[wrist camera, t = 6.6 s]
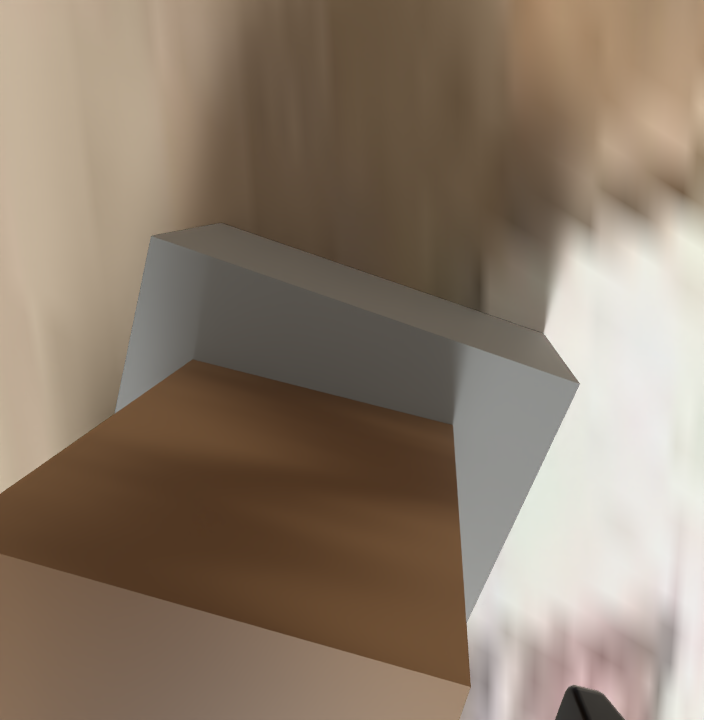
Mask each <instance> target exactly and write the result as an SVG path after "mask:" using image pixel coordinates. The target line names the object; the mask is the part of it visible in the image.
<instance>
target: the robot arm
mask: <svg viewBox="0 0 704 720" xmlns="http://www.w3.org/2000/svg"><path fill="white" fill-rule="evenodd" d="M555 720H625V719H624V718H623V717H622V716H621V714H620V713H619V712H618V711H617V710H616V708H615V707H614V706H613V705H612V704H611V702H610V701H609V700H608V699H607V698H606V696H605V695H604V694H602V693H601V692H599V691H597V690H593V689H589V688H585V687H581V686H577V685H572V686H570V687H568V689H567V690H566V692H565V694H564V697H563V700H562V702H561V705H560V708H559V710H558V713H557V716H556V719H555Z"/></svg>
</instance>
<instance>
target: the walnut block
mask: <svg viewBox="0 0 704 720" xmlns="http://www.w3.org/2000/svg"><path fill="white" fill-rule="evenodd" d="M470 688H471V684H470V669H469V654H468V640H467V625H466V610H465V595H464V580H463V565H462V550H461V536H460V521H459V506H458V491H457V476H456V461H455V447H454V432H453V425H451V424H447V423H443V422H439V421H435V420H431V419H427V418H423V417H419V416H415V415H411V414H407V413H403V412H399V411H395V410H391V409H388V408H384V407H380V406H376V405H372V404H368V403H364V402H360V401H356V400H352V399H348V398H344V397H340V396H336V395H332V394H328V393H324V392H320V391H316V390H312V389H308V388H304V387H301V386H297V385H293V384H289V383H285V382H281V381H277V380H273V379H269V378H265V377H261V376H257V375H253V374H249V373H245V372H241V371H237V370H233V369H229V368H225V367H221V366H217V365H213V364H209V363H205V362H201V361H197V360H193V359H192V360H191V361H189V362H188V363H187V364H185V365H184V366H182V367H181V368H179V369H178V370H177V371H175V372H174V373H172V374H171V375H169V376H168V377H167V378H165V379H164V380H162V381H161V382H159V383H158V384H157V385H155V386H154V387H152V388H151V389H149V390H148V391H147V392H145V393H144V394H142V395H141V396H139V397H138V398H137V399H135V400H134V401H132V402H131V403H129V404H128V405H127V406H125V407H124V408H122V409H121V410H119V411H118V412H117V413H115V414H114V415H112V416H111V417H109V418H108V419H107V420H105V421H104V422H102V423H101V424H99V425H98V426H97V427H95V428H94V429H92V430H91V431H89V432H88V433H87V434H85V435H84V436H82V437H81V438H79V439H78V440H77V441H75V442H74V443H72V444H71V445H69V446H68V447H67V448H65V449H64V450H62V451H61V452H59V453H58V454H57V455H55V456H54V457H52V458H51V459H49V460H48V461H46V462H45V463H44V464H42V465H41V466H39V467H38V468H36V469H35V470H34V471H32V472H31V473H29V474H28V475H26V476H25V477H24V478H22V479H21V480H19V481H18V482H16V483H15V484H14V485H12V486H11V487H9V488H8V489H6V490H5V491H4V492H2V493H1V494H0V720H459V719H460V716H461V713H462V710H463V708H464V705H465V702H466V699H467V696H468V693H469V690H470Z"/></svg>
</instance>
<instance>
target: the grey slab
mask: <svg viewBox="0 0 704 720" xmlns="http://www.w3.org/2000/svg"><path fill="white" fill-rule="evenodd" d="M192 359H193V360H197V361H201V362H205V363H209V364H213V365H217V366H221V367H225V368H229V369H233V370H237V371H241V372H245V373H249V374H253V375H257V376H261V377H265V378H269V379H273V380H277V381H281V382H285V383H289V384H293V385H297V386H301V387H304V388H308V389H312V390H316V391H320V392H324V393H328V394H332V395H336V396H340V397H344V398H348V399H352V400H356V401H360V402H364V403H368V404H372V405H376V406H380V407H384V408H388V409H391V410H395V411H399V412H403V413H407V414H411V415H415V416H419V417H423V418H427V419H431V420H435V421H439V422H443V423H447V424H451V425H453V432H454V447H455V461H456V476H457V491H458V506H459V521H460V536H461V550H462V565H463V580H464V595H465V610H466V623H467V621H468V619H469V617H470V614H471V612H472V610H473V608H474V606H475V604H476V602H477V600H478V598H479V595H480V593H481V591H482V589H483V587H484V585H485V583H486V581H487V579H488V577H489V574H490V572H491V570H492V568H493V566H494V564H495V562H496V560H497V558H498V555H499V553H500V551H501V549H502V547H503V545H504V543H505V541H506V539H507V536H508V534H509V532H510V530H511V528H512V526H513V524H514V522H515V520H516V518H517V515H518V513H519V511H520V509H521V507H522V505H523V503H524V501H525V499H526V496H527V494H528V492H529V490H530V488H531V486H532V484H533V482H534V480H535V477H536V475H537V473H538V471H539V469H540V467H541V465H542V463H543V461H544V459H545V456H546V454H547V452H548V450H549V448H550V446H551V444H552V442H553V440H554V437H555V435H556V433H557V431H558V429H559V427H560V425H561V423H562V421H563V418H564V416H565V414H566V412H567V410H568V408H569V406H570V404H571V402H572V400H573V397H574V395H575V393H576V391H577V389H578V387H579V385H580V383H579V382H578V381H577V379H576V378H575V376H574V375H573V374H572V372H571V371H570V370H569V368H568V367H567V365H566V364H565V363H564V361H563V360H562V358H561V357H560V356H559V354H558V353H557V351H556V350H555V349H554V347H553V346H552V345H551V343H550V342H549V340H548V339H547V338H546V336H545V335H544V334H543V333H540V332H538V331H535V330H532V329H529V328H526V327H523V326H520V325H517V324H514V323H511V322H508V321H505V320H503V319H500V318H497V317H494V316H491V315H488V314H485V313H482V312H479V311H476V310H473V309H471V308H468V307H465V306H462V305H459V304H456V303H453V302H450V301H447V300H444V299H441V298H439V297H436V296H433V295H430V294H427V293H424V292H421V291H418V290H415V289H412V288H409V287H407V286H404V285H401V284H398V283H395V282H392V281H389V280H386V279H383V278H380V277H377V276H375V275H372V274H369V273H366V272H363V271H360V270H357V269H354V268H351V267H348V266H345V265H343V264H340V263H337V262H334V261H331V260H328V259H325V258H322V257H319V256H316V255H313V254H311V253H308V252H305V251H302V250H299V249H296V248H293V247H290V246H287V245H284V244H281V243H279V242H276V241H273V240H270V239H267V238H264V237H261V236H258V235H255V234H252V233H249V232H247V231H244V230H241V229H238V228H235V227H232V226H229V225H226V224H223V223H217V224H212V225H207V226H201V227H196V228H190V229H185V230H180V231H174V232H169V233H164V234H158V235H153V236H151V239H150V244H149V249H148V253H147V258H146V263H145V268H144V273H143V278H142V283H141V288H140V292H139V297H138V302H137V307H136V312H135V317H134V322H133V326H132V331H131V336H130V341H129V346H128V351H127V356H126V360H125V365H124V370H123V375H122V380H121V385H120V390H119V394H118V399H117V404H116V409H115V413H117V412H118V411H119V410H121V409H122V408H124V407H125V406H127V405H128V404H129V403H131V402H132V401H134V400H135V399H137V398H138V397H139V396H141V395H142V394H144V393H145V392H147V391H148V390H149V389H151V388H152V387H154V386H155V385H157V384H158V383H159V382H161V381H162V380H164V379H165V378H167V377H168V376H169V375H171V374H172V373H174V372H175V371H177V370H178V369H179V368H181V367H182V366H184V365H185V364H187V363H188V362H189V361H191V360H192Z"/></svg>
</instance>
